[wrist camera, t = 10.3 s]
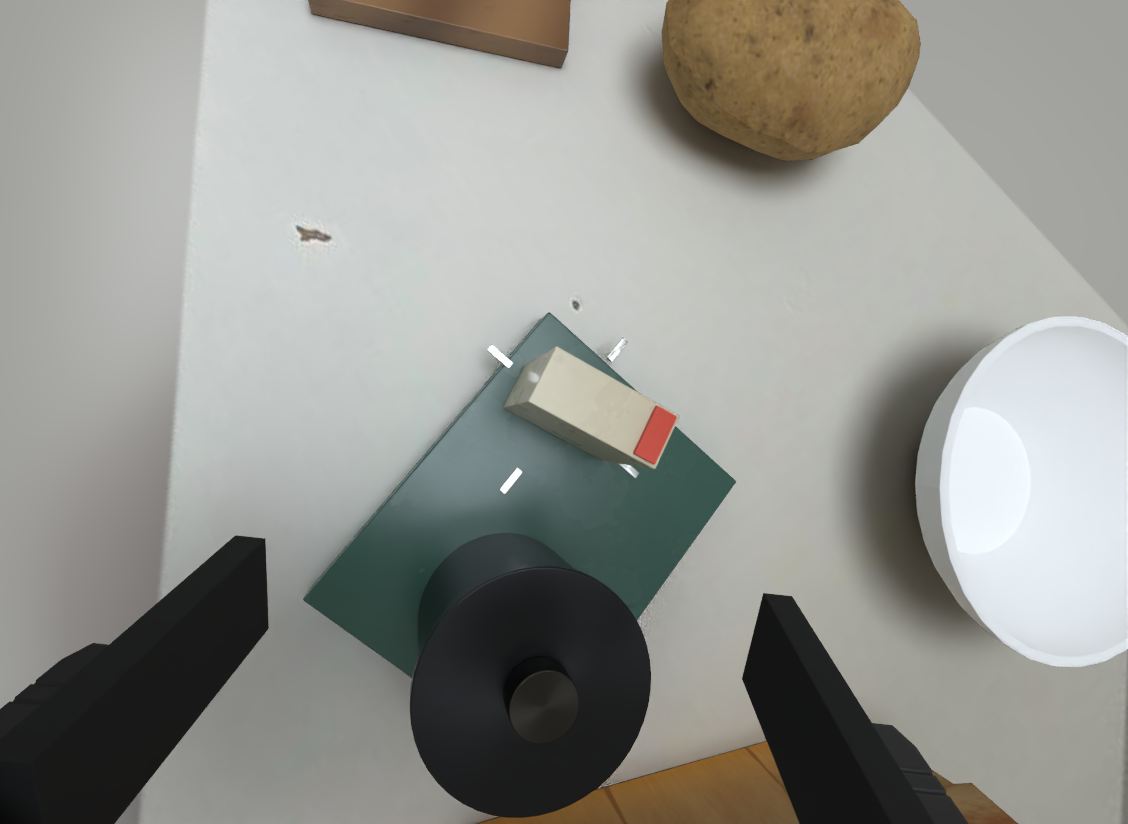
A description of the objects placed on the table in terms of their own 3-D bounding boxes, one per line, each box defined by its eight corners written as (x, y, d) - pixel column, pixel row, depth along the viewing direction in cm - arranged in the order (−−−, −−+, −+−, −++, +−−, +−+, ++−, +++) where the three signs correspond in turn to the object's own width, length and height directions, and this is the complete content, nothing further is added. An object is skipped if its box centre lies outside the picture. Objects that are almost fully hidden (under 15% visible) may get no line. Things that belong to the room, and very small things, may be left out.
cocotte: (372, 644, 26) (350, 762, 17) (483, 492, 28) (518, 524, 19) (518, 735, 28) (571, 889, 19) (615, 587, 30) (709, 661, 20)
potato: (636, -6, 33) (703, -139, 25) (838, 55, 37) (951, -45, 29) (622, 156, 33) (688, 70, 25) (829, 202, 36) (942, 140, 28)
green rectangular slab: (291, 574, 27) (281, 586, 25) (544, 283, 31) (553, 273, 29) (526, 744, 30) (534, 767, 28) (733, 457, 34) (754, 459, 32)
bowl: (1071, 618, 40) (1201, 656, 34) (840, 634, 35) (939, 681, 29) (1071, 346, 41) (1197, 329, 34) (845, 323, 36) (942, 299, 29)
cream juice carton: (502, 407, 28) (529, 401, 22) (525, 364, 29) (557, 344, 22) (604, 461, 30) (657, 470, 23) (624, 418, 30) (682, 415, 23)
